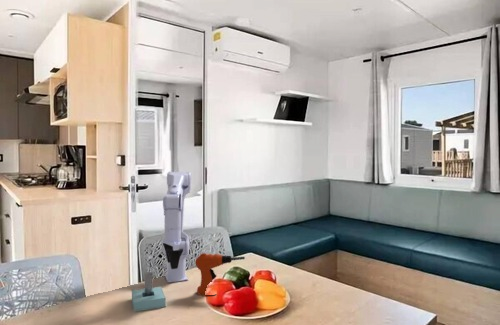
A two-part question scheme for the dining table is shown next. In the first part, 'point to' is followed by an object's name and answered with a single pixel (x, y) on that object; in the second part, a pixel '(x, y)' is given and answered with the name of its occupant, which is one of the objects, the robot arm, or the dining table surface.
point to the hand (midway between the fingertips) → (172, 265)
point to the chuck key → (148, 284)
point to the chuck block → (148, 299)
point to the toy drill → (210, 268)
